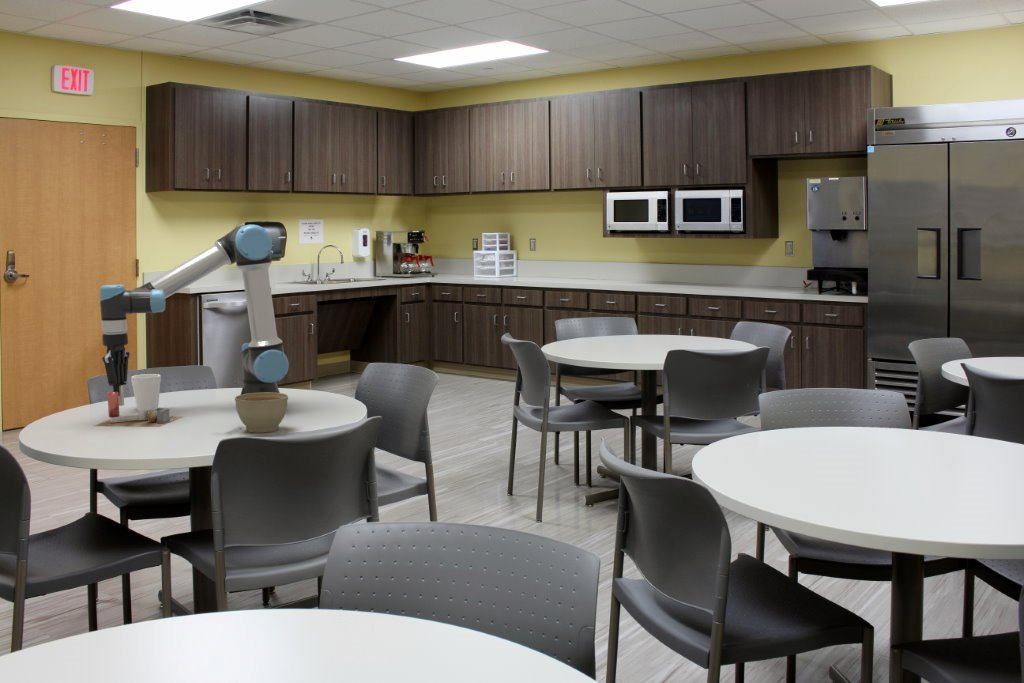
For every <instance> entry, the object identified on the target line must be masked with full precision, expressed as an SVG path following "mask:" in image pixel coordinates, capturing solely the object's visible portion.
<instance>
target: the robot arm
mask: <svg viewBox="0 0 1024 683" xmlns="http://www.w3.org/2000/svg"><path fill="white" fill-rule="evenodd" d="M272 247H273V239H272V237H271V234H270V232H268V231H267V230H266V229H265V228H264V227H263V226H260V225H258V224H246V225H245V224H243V225H240V226H236V227H235V228H234V229H232V230H230V231H229V232H228V233H227V234H225V235H224V236H222V237H220V238H218V239H217V240H215V241H214V244H213V246H211V247H209V248H207V249H205V250H203V251H201V252H200V253H198V254H196V255H194V256H193V257H191V258H189V259H187V260H186V261H184V262H182V263H180V264H179V265H177V266H175V267H173V268H171V269H169V270H168V271H166V272H164V273H162V274H160V275H158V276H156V277H155V278H153V279H152V280H149V281H148V282H147V283H144V284H143V285H141V286H139V287H135V288H133V289H132V290H127V289H126V287H125V285H124V284H105V285H101V287H99V305H100V306H99V307H100V317H101V318H100V319H101V323H100V325H101V332H102V333H103V334H102V335H101V336H102V345H103V346H104V347H106V355H105V356H102V362H103V363H104V369H105V372H106V379H107V383H108V386H110V387H112V388H113V390H112V391H118V397H119V407H120V406H121V407H123V406H125V396H124V394H125V393H124V392H125V391H124V385H127V382H128V372H129V371H128V369H129V368H128V367H129V358H130V354H131V353H130V351H126V347H125V346H126V345H128V344H129V335H128V333H127V332H128V321H127V319H128V318H127V315H129V314H130V315H131V314H157V313H163V312H164V311H165V310H166V299H167V298H169V297H170V296H172V295H174V294H176V293H178V292H180V291H181V290H183V289H184V288H186V287H188V286H191V285H192V284H194V283H196V282H197V281H200V280H201V279H202V278H204V277H206V276H208V275H210V274H211V273H213V272H215V271H217V270H218V269H220V268H222V267H224V266H226V265H228V266H231V265H233V264H236V267H237V268H238V269H239V270H241V272H242V279H243V287H244V294H245V300H246V302H245V303H246V308H247V314H248V323H249V329H250V337H251V341H250V342H244V343H243V344H242V345H241V351H240V352H241V353H240V354H241V362H242V363H241V365H242V367H241V368H242V388H241V390H240V391H241V392H240V394H239V395H243V394H249V393H263V392H270V393H281V392H280V389H279V387H278V383H277V382H279V381H281V380H282V379H284V378H285V376H286V375H287V373H288V371H289V367H290V366H289V365H290V363H289V359H288V357H287V355H286V354H285V352H284V351H285V349H284V342H283V340H282V339H281V338H280V337H278V332H277V325H276V324H277V323H276V317H275V309H274V302H273V296H272V288H271V282H270V281H271V280H270V275H269V267H270V266H271V265H272V262H273V261H272V255H271V252H272Z"/></svg>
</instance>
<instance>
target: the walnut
mask: <svg viewBox="0 0 1024 683" xmlns="http://www.w3.org/2000/svg"><path fill="white" fill-rule="evenodd" d="M155 411H156V410H150V411H148V415H147V419H148V421H150V422H156V421H157V412H155Z"/></svg>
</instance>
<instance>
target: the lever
mask: <svg viewBox="0 0 1024 683" xmlns="http://www.w3.org/2000/svg"><path fill="white" fill-rule="evenodd" d="M106 395H107V409H108V410H107V411H108V418H109V420H110V419H111V422H120V421H131V420H148V419H147V415H148V413H149V411H148V410H137V413H130V414H120V406H119V397H118V391H113V390H111V391H107V394H106ZM154 411H155V412H157V410H154Z"/></svg>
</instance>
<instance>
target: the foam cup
mask: <svg viewBox="0 0 1024 683" xmlns="http://www.w3.org/2000/svg"><path fill="white" fill-rule="evenodd" d="M161 377H162V376H161V374H159V373H158V374H156V373H146V374H145V373H144V374H135V375H132V376H131V385H132V389H133V390H132V391H133V394H134V399H135V404H136V410H137V411H140V410H148V412H150V411H157V409H158V408H159V402H160V400H159V399H160V390H161V382H162V378H161Z"/></svg>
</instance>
